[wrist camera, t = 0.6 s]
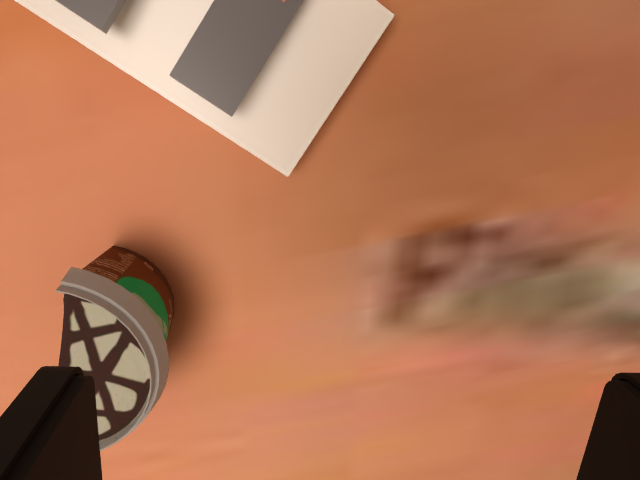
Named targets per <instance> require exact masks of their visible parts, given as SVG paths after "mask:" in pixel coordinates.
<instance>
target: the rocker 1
mask: <svg viewBox="0 0 640 480" xmlns="http://www.w3.org/2000/svg"><path fill="white" fill-rule="evenodd" d="M55 1H57V2H58V3H60V4H61V5H63V6H64V7H66V8H67V9H69V10H70V11H72V12H73V13H75V14H76V15H78V16H80V17H81V18H83V19H84V20H86V21H87V22H89V23H90V24H92V25H93V26H95V27H96V28H98V29H99V30H101V31H102V32H104V33H105V34H107V32H108V31H109V29H110V27H111V26H112V24H113V22H114V20H115V19H116V17H117V15H118V14H119V12H120V10H121V8H122V7H123V5H124V3H125V2H126V0H55Z"/></svg>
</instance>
